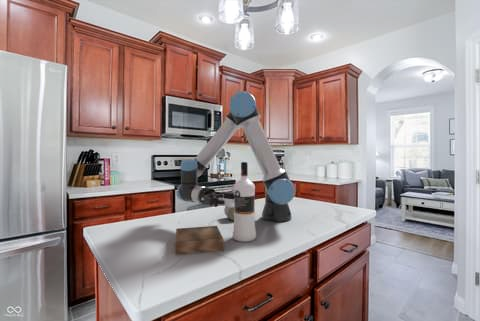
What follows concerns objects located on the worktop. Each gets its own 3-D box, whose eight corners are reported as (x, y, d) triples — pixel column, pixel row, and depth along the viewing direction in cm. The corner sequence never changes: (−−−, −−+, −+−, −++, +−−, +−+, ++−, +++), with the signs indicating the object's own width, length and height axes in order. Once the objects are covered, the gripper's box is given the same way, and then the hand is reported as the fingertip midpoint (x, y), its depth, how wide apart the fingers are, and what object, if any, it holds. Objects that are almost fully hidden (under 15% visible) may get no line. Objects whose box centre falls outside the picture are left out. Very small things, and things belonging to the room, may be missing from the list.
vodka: (261, 239, 95) (261, 162, 94) (241, 244, 89) (241, 162, 89) (246, 233, 102) (246, 161, 102) (228, 237, 97) (227, 162, 96)
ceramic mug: (227, 221, 120) (227, 206, 120) (224, 217, 128) (224, 203, 128) (247, 220, 123) (248, 205, 123) (243, 216, 131) (243, 202, 131)
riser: (216, 235, 99) (216, 225, 99) (223, 250, 84) (223, 238, 84) (176, 238, 96) (176, 228, 95) (175, 255, 80) (175, 242, 80)
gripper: (222, 199, 118) (260, 204, 105) (182, 208, 98) (222, 216, 85) (222, 184, 118) (259, 187, 105) (181, 190, 98) (221, 195, 85)
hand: (243, 200), depth 95 cm, fingers open, 13 cm apart
